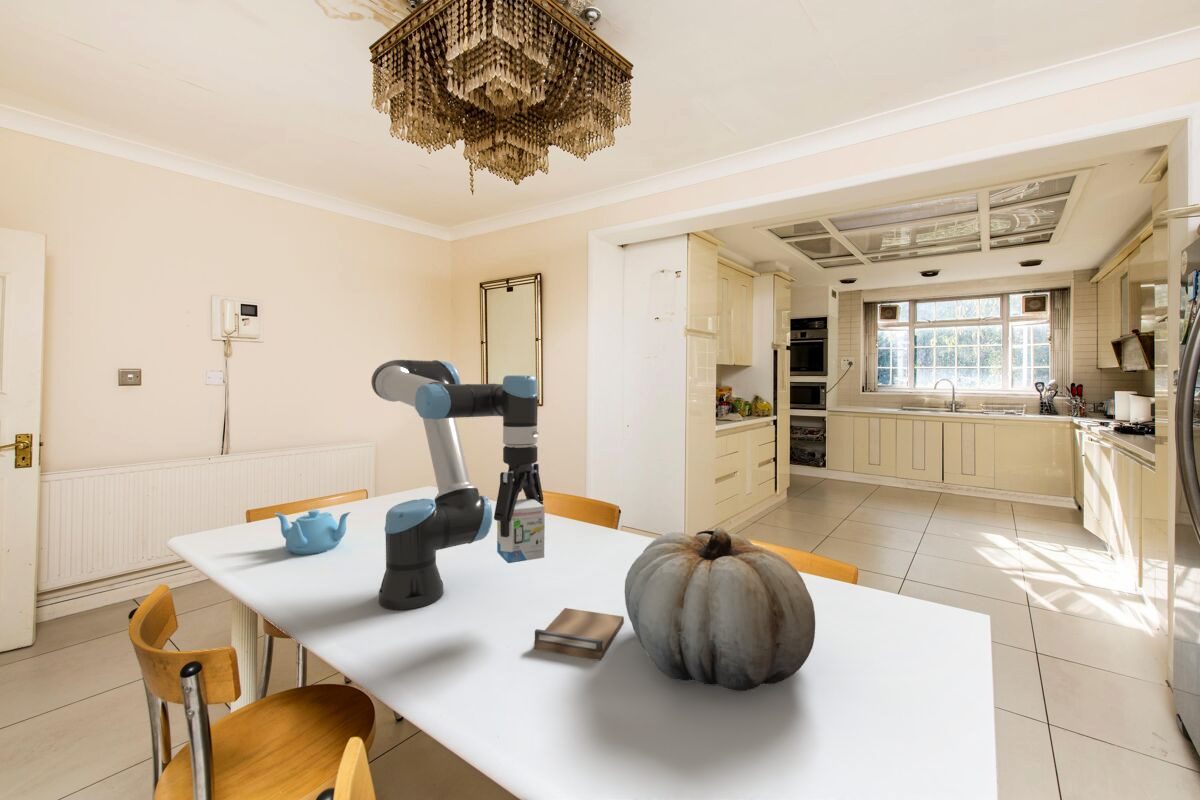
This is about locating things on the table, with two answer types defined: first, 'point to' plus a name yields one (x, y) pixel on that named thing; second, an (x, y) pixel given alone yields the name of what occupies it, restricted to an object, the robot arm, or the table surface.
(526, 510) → the ink box
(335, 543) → the teapot
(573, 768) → the table surface
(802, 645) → the pumpkin
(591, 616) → the brown flat block
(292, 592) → the table surface
